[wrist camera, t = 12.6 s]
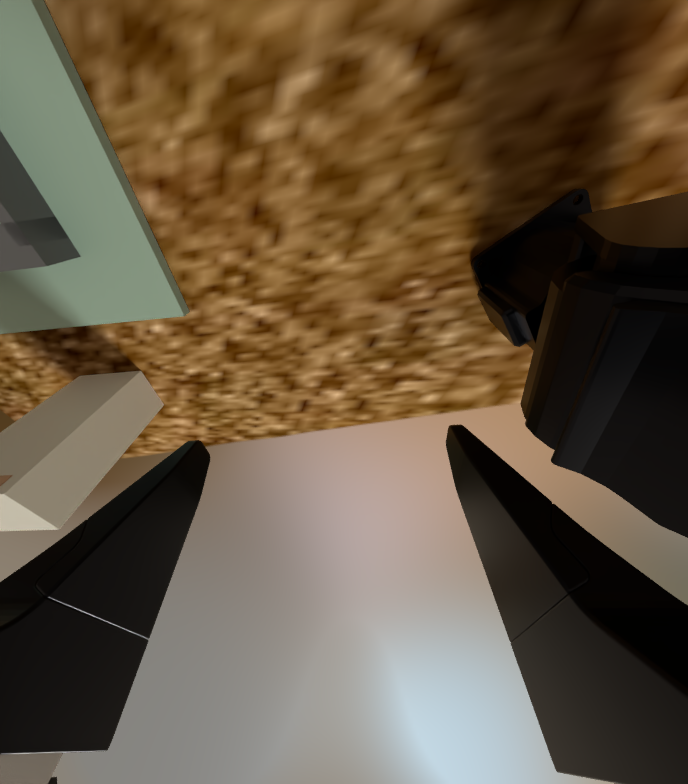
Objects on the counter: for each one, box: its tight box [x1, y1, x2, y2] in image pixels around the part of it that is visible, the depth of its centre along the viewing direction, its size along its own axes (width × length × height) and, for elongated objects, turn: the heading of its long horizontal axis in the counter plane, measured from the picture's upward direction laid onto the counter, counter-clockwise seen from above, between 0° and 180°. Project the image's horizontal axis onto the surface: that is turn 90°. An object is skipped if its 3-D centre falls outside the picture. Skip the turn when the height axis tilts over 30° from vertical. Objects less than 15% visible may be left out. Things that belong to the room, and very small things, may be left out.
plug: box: [0, 371, 164, 531], centre depth 21 cm, size 6×4×12 cm
